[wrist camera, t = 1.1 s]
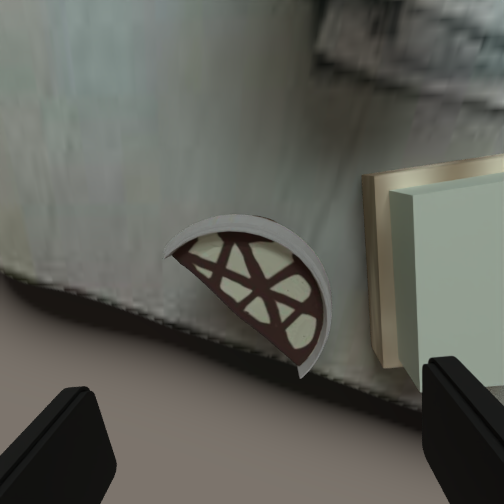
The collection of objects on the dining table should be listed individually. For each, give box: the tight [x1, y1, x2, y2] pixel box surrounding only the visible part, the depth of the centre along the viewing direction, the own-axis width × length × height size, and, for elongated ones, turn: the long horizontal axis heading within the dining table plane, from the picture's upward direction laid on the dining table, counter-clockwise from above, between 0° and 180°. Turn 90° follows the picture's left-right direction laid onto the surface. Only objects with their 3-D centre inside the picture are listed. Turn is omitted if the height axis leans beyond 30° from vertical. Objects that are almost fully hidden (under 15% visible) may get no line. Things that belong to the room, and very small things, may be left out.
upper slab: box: [389, 172, 504, 392], centre depth 21 cm, size 10×14×4 cm
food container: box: [162, 214, 332, 378], centre depth 23 cm, size 12×6×10 cm, turn 47°
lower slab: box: [362, 154, 504, 368], centre depth 25 cm, size 12×16×4 cm
